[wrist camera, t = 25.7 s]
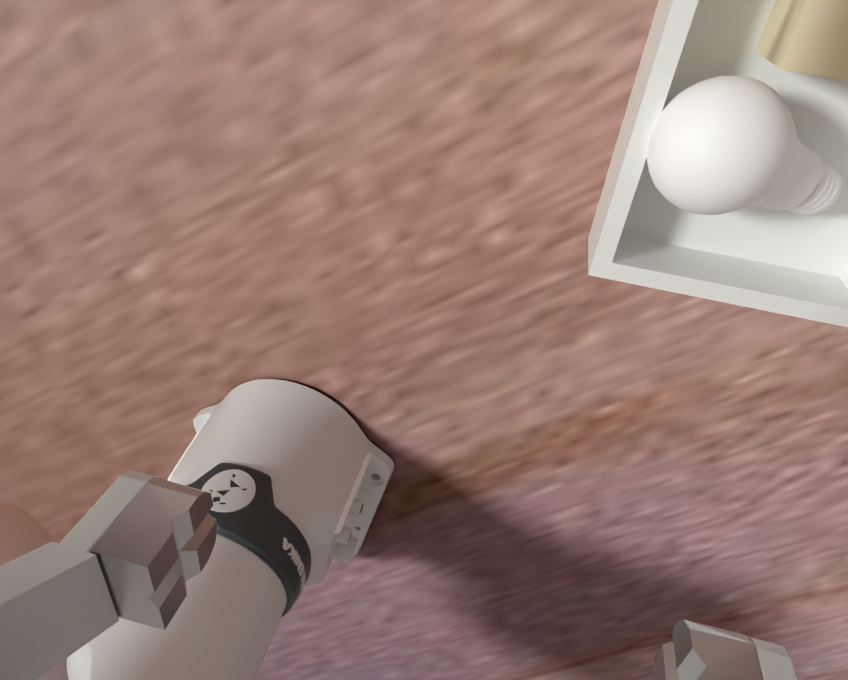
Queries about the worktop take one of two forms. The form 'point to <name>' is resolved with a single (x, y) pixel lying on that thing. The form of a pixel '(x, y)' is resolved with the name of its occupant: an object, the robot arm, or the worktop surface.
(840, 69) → the maple cube
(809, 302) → the tote
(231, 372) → the worktop surface
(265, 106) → the worktop surface
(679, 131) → the lightbulb
